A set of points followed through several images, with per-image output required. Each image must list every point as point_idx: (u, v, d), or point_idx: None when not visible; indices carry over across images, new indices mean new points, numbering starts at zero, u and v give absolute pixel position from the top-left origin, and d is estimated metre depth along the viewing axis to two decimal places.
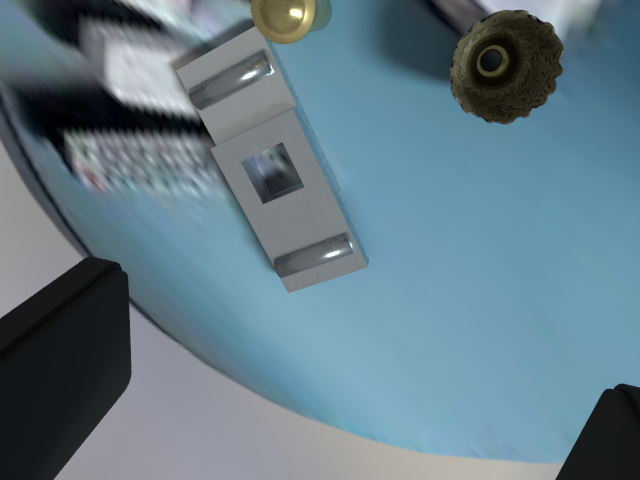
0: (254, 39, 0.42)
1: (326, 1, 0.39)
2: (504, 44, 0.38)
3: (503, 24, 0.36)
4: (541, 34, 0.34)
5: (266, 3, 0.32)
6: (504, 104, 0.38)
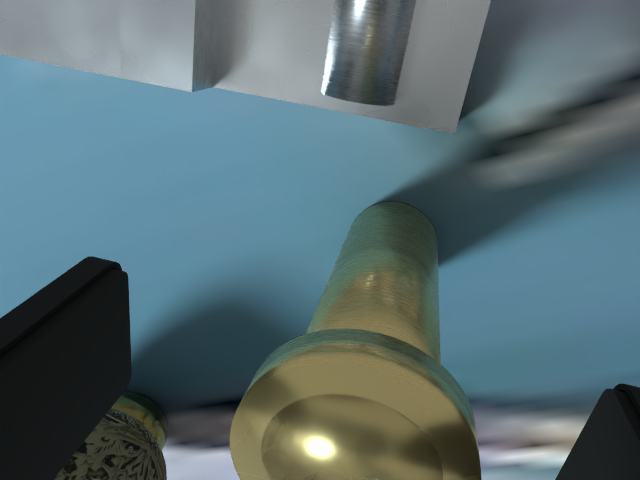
0: (431, 97, 0.14)
1: None
2: None
3: None
4: None
5: (402, 445, 0.08)
6: None
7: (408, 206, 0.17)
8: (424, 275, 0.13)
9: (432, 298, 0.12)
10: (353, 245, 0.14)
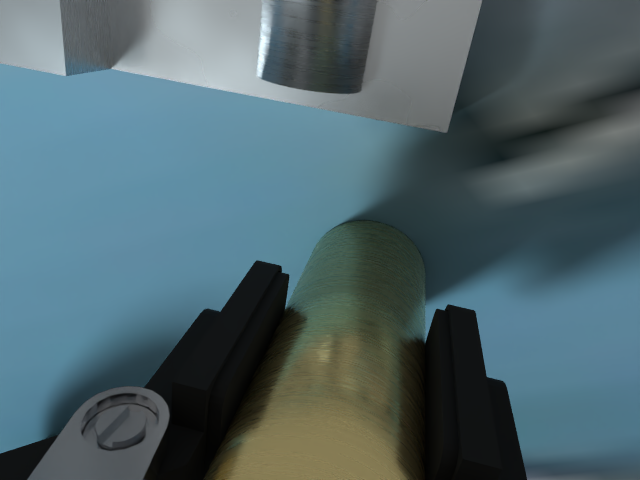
0: (412, 81, 0.10)
1: None
2: None
3: None
4: None
5: None
6: None
7: (386, 227, 0.12)
8: (404, 345, 0.09)
9: (414, 384, 0.08)
10: (305, 292, 0.10)
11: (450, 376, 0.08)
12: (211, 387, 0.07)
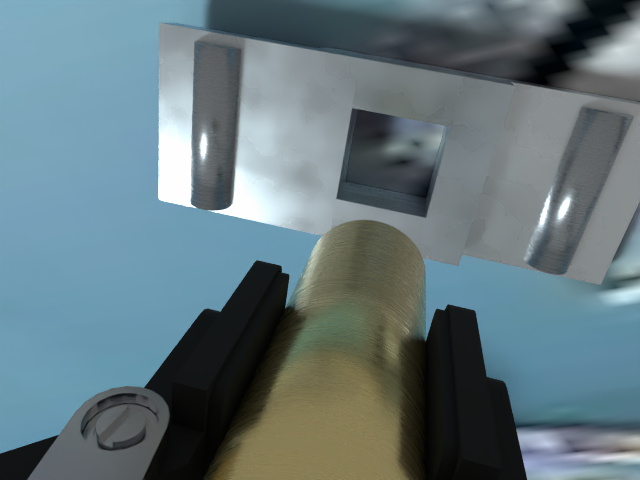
0: (588, 266, 0.25)
1: None
2: None
3: None
4: None
5: None
6: None
7: (386, 226, 0.12)
8: (404, 345, 0.09)
9: (415, 384, 0.08)
10: (305, 291, 0.10)
11: (450, 376, 0.08)
12: (211, 387, 0.07)
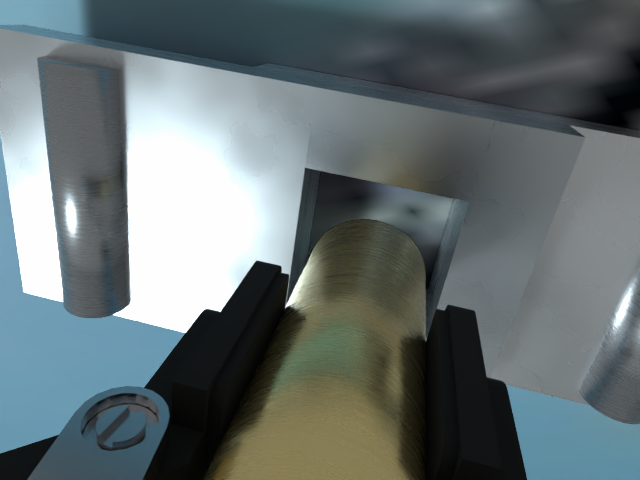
0: None
1: None
2: None
3: None
4: None
5: None
6: None
7: (386, 226, 0.12)
8: (404, 344, 0.09)
9: (415, 383, 0.08)
10: (305, 291, 0.10)
11: (450, 376, 0.08)
12: (211, 387, 0.07)
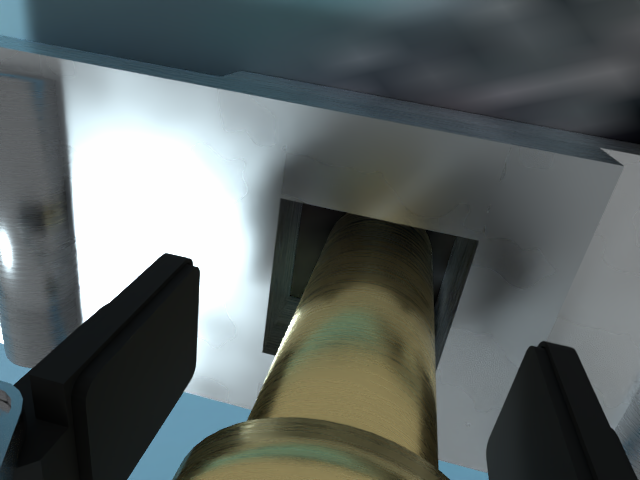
0: None
1: None
2: None
3: None
4: None
5: None
6: None
7: None
8: (417, 306, 0.10)
9: (426, 337, 0.09)
10: (328, 263, 0.11)
11: (572, 429, 0.07)
12: (72, 380, 0.06)
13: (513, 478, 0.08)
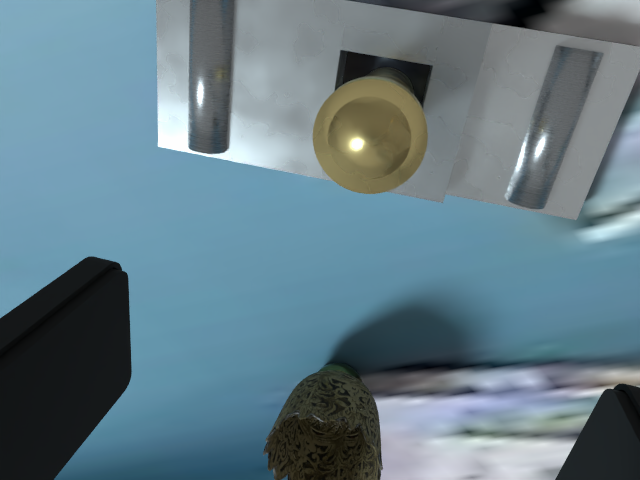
0: (565, 202, 0.26)
1: None
2: None
3: None
4: (333, 469, 0.33)
5: (393, 121, 0.18)
6: None
7: (395, 69, 0.26)
8: None
9: None
10: None
11: None
12: None
13: None
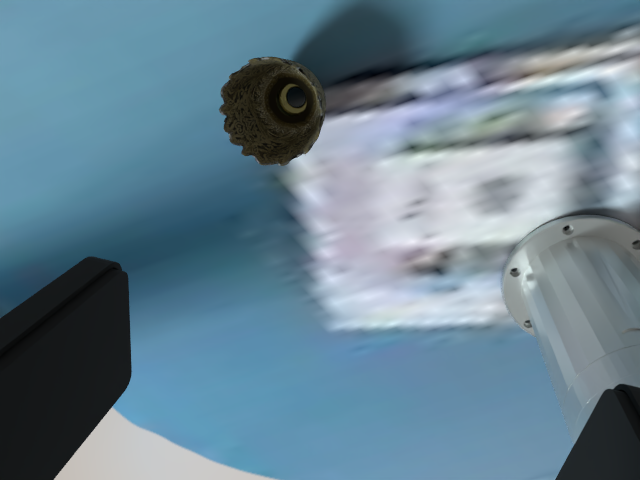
0: None
1: None
2: (300, 116, 0.39)
3: (315, 125, 0.38)
4: (285, 151, 0.37)
5: None
6: (246, 92, 0.37)
7: None
8: None
9: None
10: None
11: None
12: None
13: None
